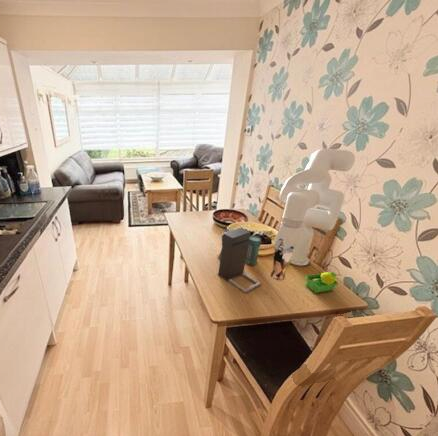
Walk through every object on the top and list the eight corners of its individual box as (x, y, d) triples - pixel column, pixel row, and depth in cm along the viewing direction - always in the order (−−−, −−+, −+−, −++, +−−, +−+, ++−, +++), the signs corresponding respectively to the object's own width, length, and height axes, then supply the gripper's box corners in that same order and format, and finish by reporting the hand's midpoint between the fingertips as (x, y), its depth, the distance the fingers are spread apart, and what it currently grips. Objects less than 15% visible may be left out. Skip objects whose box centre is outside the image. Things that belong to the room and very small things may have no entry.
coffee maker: (233, 267, 129) (240, 227, 120) (261, 284, 116) (271, 241, 107) (217, 274, 123) (223, 233, 114) (244, 293, 110) (253, 248, 101)
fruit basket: (321, 281, 118) (328, 262, 113) (338, 293, 110) (346, 273, 105) (302, 284, 116) (308, 265, 111) (317, 297, 108) (325, 277, 103)
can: (258, 263, 132) (263, 240, 126) (249, 265, 130) (254, 242, 124) (250, 258, 137) (255, 235, 131) (241, 260, 135) (246, 236, 129)
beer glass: (288, 282, 106) (296, 253, 100) (271, 280, 107) (278, 252, 101) (283, 273, 112) (291, 245, 106) (267, 271, 113) (274, 244, 107)
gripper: (294, 214, 105) (285, 249, 113) (270, 223, 97) (262, 260, 104) (312, 220, 100) (301, 256, 107) (288, 230, 91) (278, 268, 98)
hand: (282, 258), depth 105 cm, fingers closed on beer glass, 7 cm apart
